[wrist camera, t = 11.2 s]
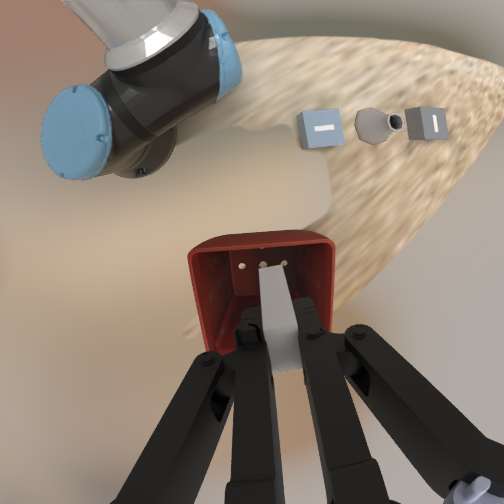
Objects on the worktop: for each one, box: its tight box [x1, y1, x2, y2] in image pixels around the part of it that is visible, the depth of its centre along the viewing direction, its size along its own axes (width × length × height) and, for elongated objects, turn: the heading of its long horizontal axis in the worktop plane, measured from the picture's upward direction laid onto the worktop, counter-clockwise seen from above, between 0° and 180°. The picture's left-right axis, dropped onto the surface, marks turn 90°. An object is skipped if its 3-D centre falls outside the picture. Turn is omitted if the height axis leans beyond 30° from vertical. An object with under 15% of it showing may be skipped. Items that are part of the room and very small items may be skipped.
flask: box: [355, 108, 405, 145], centre depth 41 cm, size 7×7×10 cm
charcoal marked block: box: [405, 107, 449, 140], centre depth 42 cm, size 6×6×6 cm
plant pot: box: [188, 230, 335, 356], centre depth 47 cm, size 19×19×17 cm
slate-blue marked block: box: [297, 109, 345, 149], centre depth 44 cm, size 6×6×6 cm
